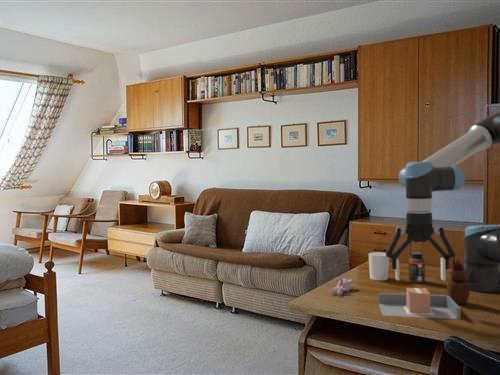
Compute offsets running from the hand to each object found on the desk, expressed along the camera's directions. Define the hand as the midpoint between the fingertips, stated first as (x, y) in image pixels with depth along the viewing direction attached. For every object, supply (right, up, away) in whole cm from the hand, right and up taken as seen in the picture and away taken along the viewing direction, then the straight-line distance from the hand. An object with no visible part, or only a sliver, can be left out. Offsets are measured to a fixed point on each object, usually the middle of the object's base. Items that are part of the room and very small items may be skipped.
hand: (420, 279), depth 139 cm
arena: (-1, -10, 0) cm, 10 cm away
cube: (-1, -10, 0) cm, 10 cm away
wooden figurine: (+16, -10, +8) cm, 20 cm away
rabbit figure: (-20, -9, +22) cm, 31 cm away
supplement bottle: (+12, -8, +35) cm, 38 cm away
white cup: (-1, -8, +41) cm, 41 cm away
